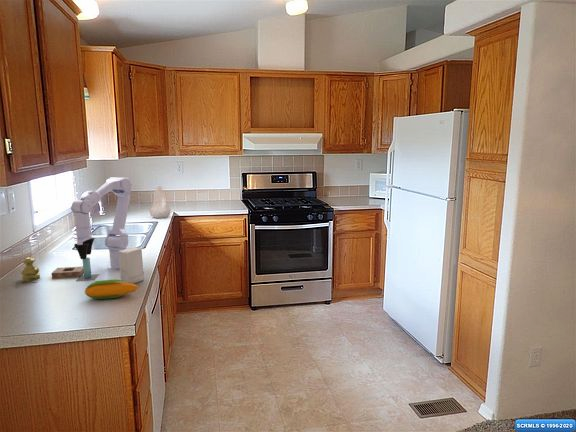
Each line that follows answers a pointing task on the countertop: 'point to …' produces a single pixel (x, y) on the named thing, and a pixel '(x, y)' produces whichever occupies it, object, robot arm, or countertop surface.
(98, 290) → the corn
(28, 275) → the olive yellow figurine
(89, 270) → the peg
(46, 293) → the countertop surface
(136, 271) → the skincare box
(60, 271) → the hole block
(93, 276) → the mat
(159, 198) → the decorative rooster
